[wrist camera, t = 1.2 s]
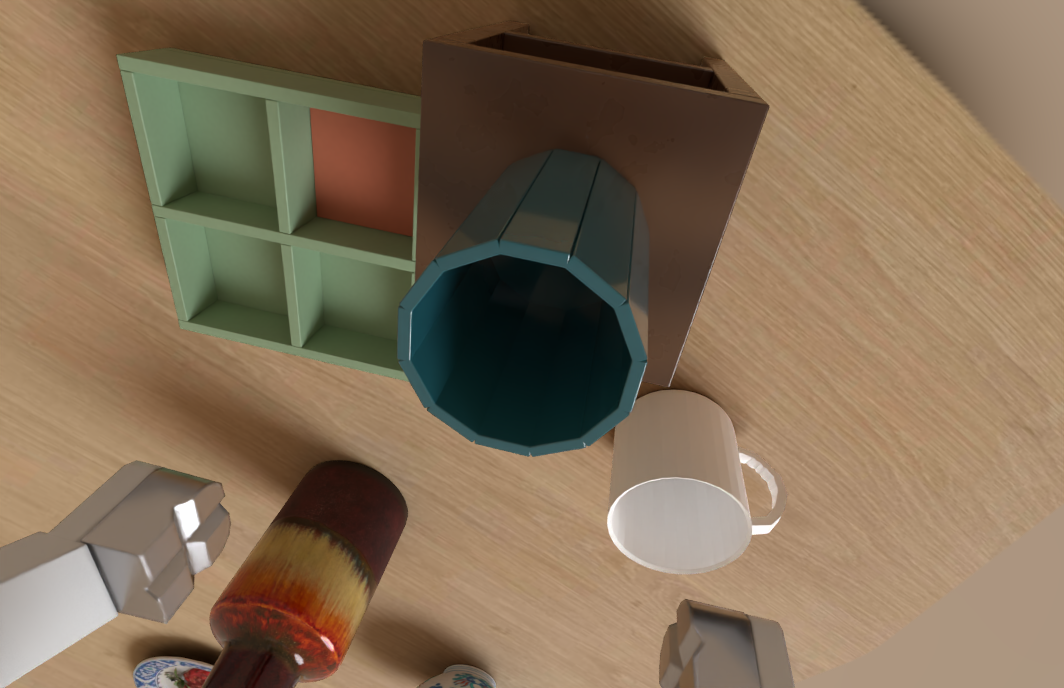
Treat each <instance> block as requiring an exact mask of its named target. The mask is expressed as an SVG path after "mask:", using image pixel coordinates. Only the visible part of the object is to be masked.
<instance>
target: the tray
mask: <svg viewBox="0 0 1064 688" xmlns="http://www.w3.org/2000/svg"><path fill="white" fill-rule="evenodd" d="M116 56H117V61H118V65H119V69H121V70H120V72H121V77H122V81H123V85H124V90H125V94H126V98H127V102H128V107H129V111H130V115H131V119H132V124H133V128H134V132H135V136H136V141H137V145H138V149H139V154H140V158H141V162H142V166H143V171H144V175H145V179H146V183H147V188H148V192H149V196H150V201H151V204H152V210H153V214H154V218H155V222H156V227H157V231H158V235H159V240H160V244H161V248H162V252H163V257H164V261H165V265H166V269H167V274H168V278H169V282H170V286H171V291H172V295H173V299H174V304H175V308H176V312H177V316H178V321H179V326H180V328H181V329H185V330H189V331H193V332H198V333H202V334H206V335H211V336H215V337H219V338H223V339H228V340H232V341H236V342H241V343H245V344H249V345H254V346H258V347H262V348H266V349H271V350H275V351H279V352H284V353H288V354H292V355H297V356H301V357H305V358H309V359H314V360H318V361H322V362H327V363H331V364H335V365H339V366H344V367H348V368H352V369H357V370H361V371H365V372H370V373H374V374H378V375H382V376H387V377H391V378H395V379H400V380H404V381H408V382H409V380H408V378H407V377H406V375H405V373H404V372H403V370H402V368H401V366H400V365H399V363H398V360H399V359H397V328H398V306H399V302H400V301H401V300H402V299H403V297H404V296H405V295H406V293H407V292H408V291H409V289H410V288H411V287H412V286H413V284H414V283H415V260H416V231H417V203H418V174H419V146H420V118H421V97H420V96H415V95H410V94H405V93H400V92H395V91H390V90H384V89H379V88H374V87H369V86H364V85H359V84H354V83H349V82H343V81H338V80H333V79H328V78H323V77H318V76H313V75H308V74H303V73H297V72H292V71H287V70H282V69H277V68H272V67H267V66H262V65H256V64H251V63H246V62H241V61H236V60H231V59H226V58H221V57H216V56H210V55H205V54H200V53H195V52H190V51H185V50H180V49H175V48H163V49H155V50H147V51H139V52H131V53H123V54H117V55H116Z"/></svg>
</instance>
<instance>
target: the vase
mask: <svg viewBox="0 0 1064 688" xmlns="http://www.w3.org/2000/svg"><path fill="white" fill-rule="evenodd" d="M407 517H408V510H407V505H406V502H405V500H404V498H403V496H402V494H401V493H400V491H399V490H398V489H397V488H396V486H395V485H393V484H392V483H391V482H390V481H389V480H388V479H387V478H385V477H384V476H383V475H381V474H380V473H378V472H376V471H375V470H372V469H370V468H368V467H366V466H363V465H360V464H357V463H353V462H348V461H328V462H324V463H320V464H318V465H316V466H315V467H313V468H312V469H311V470H310V471H309V472H308V473H307V474H306V475H305V477H304V478H303V480H302V481H301V482H300V484H299V485H298V487H297V488H296V489H295V491H294V492H293V494H292V495H291V496H290V498H289V499H288V501H287V502H286V503H285V505H284V506H283V508H282V509H281V510H280V512H279V513H278V515H277V516H276V517H275V519H274V520H273V522H272V523H271V525H270V526H269V527H268V529H267V530H266V532H265V533H264V534H263V536H262V537H261V539H260V540H259V541H258V543H257V544H256V546H255V547H254V549H253V550H252V551H251V553H250V554H249V556H248V557H247V558H246V560H245V561H244V563H243V564H242V566H241V567H240V568H239V570H238V571H237V573H236V574H235V575H234V577H233V578H232V580H231V581H230V582H229V584H228V585H227V587H226V588H225V590H224V591H223V593H222V594H221V595H220V597H219V598H218V600H217V601H216V603H215V604H214V606H213V607H212V609H211V613H210V617H209V618H210V627H211V630H212V633H213V635H214V637H215V638H216V640H217V641H218V643H219V644H220V645H221V646H222V648H223V650H222V652H221V654H220V656H219V657H218V659H217V661H216V663H215V664H214V666H213V668H212V670H211V672H210V673H209V675H208V677H207V679H206V680H205V682H204V684H203V686H202V688H295V686H296V684H297V683H307V682H316V681H320V680H323V679H325V678H327V677H329V676H331V675H332V674H333V673H335V672H336V671H337V670H338V668H339V667H340V665H341V663H342V661H343V659H344V657H345V655H346V653H347V651H348V649H349V647H350V645H351V642H352V640H353V638H354V636H355V634H356V632H357V629H358V627H359V625H360V623H361V621H362V619H363V616H364V614H365V612H366V610H367V608H368V605H369V603H370V601H371V599H372V597H373V595H374V592H375V590H376V588H377V586H378V584H379V582H380V579H381V577H382V575H383V573H384V571H385V568H386V566H387V564H388V562H389V560H390V558H391V555H392V553H393V551H394V549H395V547H396V544H397V542H398V540H399V538H400V536H401V533H402V531H403V529H404V527H405V525H406V521H407Z"/></svg>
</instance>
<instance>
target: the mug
mask: <svg viewBox="0 0 1064 688" xmlns="http://www.w3.org/2000/svg"><path fill="white" fill-rule="evenodd" d="M740 462H741V463H747V464H748V466H750V467H751V468H754V469H755V470H756V472H757V473H759V474H760V475H761V477H762V479H764V480H765V481H766V482H767V483H768V488H769V490H770V492H771V495H772V510H771V511H770V513H769V514H768V515H767V516H762V517H751V516H750V511H749V505H748V500H747V495H746V489H745V484H744V479H743V473H742V468H741V463H740ZM787 496H788V494H787V489H786V487H785V485H784V482H783V479H782V476H781V475H780V474H779V473H778V472H777V471H776V470H775V469H773V468H771V466H770V465H769V464H768V463H767V461H766V460H765V459H764V458H762V457H760V456H759V455H758V454H756V453H754V452H752V451H750V450H748V449H745V448H742V447H738V446H737V441H736V436H735V430H734V427H733V424H732V421H731V419H730V418H729V416H728V415H727V413H726V412H725V411H724V410H723V409H722V408H721V407H720V406H719V405H718V404H716V403H715V402H713V401H712V400H710V399H708V398H707V397H705V396H702V395H700V394H697V393H694V392H690V391H686V390H674V389H672V390H661V391H657V392H653V393H649V394H647V395H645V396H642V397H640V398H639V399H637V400H636V401H635V404H634V407H633V410H632V412H630V415H629V416H628V417H626V418H625V419H624V420H623V421H621V422H620V423H619V424H617V425H616V427H615V435H614V447H613V459H612V471H611V483H610V495H609V507H608V522H607V526H608V530H609V535H610V536H611V538H612V540H613V542H614V544H615V545H616V546H617V547H618V548H619V550H620V551H621V552H622V553H624V554H625V555H626V556H627V557H629V558H630V559H632V560H633V561H635V562H637V563H639V564H640V565H643V566H645V567H648V568H650V569H653V570H657V571H661V572H665V573H673V574H697V573H705V572H709V571H712V570H716V569H719V568H721V567H723V566H726V565H728V564H729V563H731V562H732V561H734V560H735V559H737V558H738V557H739V556H740V555H741V554H742V553H743V552H744V551H745V550H746V548H747V546H748V544H749V543H750V540H751V536H752V535H754V534H766V533H769V532H770V531H771V530H772V529H773V527H774V526H775V525H776V524H777V523H778V521H779V519H780V518H781V516H782V514H783V512H784V510H785V506H786V501H787Z"/></svg>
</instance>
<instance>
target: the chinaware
mask: <svg viewBox="0 0 1064 688" xmlns="http://www.w3.org/2000/svg"><path fill="white" fill-rule="evenodd" d="M417 688H496V683H495V681H494V679H493V678H492V677H491V676H490V675H489V674H488V673H486V672H485V671H483V670H481V669H479V668H476V667H473V666H469V665H452V666H449V667H447V668H446V669H445V670H444V672H443V674H440V675H437V676H435V677H432V678H430V679H428V680H426V681H425V682H423V683H422V684H420V685H419V686H418V687H417Z"/></svg>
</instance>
